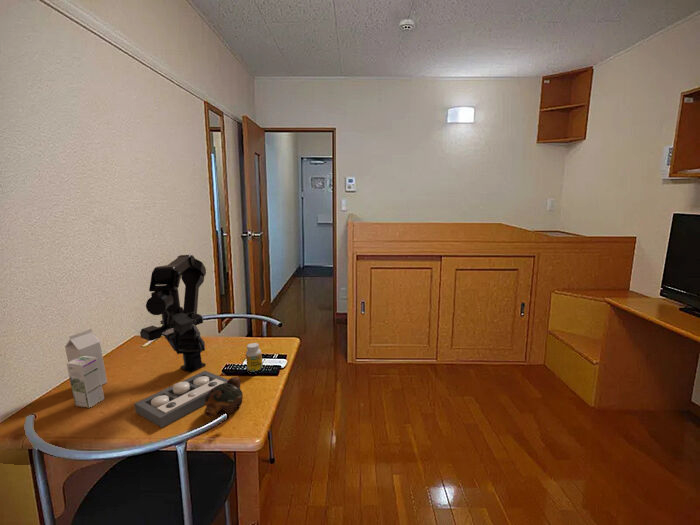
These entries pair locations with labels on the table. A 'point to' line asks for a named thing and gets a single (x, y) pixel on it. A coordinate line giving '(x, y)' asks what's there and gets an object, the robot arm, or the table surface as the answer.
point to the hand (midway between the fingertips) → (176, 350)
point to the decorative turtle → (224, 397)
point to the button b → (181, 388)
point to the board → (178, 401)
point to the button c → (201, 381)
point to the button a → (159, 401)
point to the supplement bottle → (253, 357)
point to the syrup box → (85, 381)
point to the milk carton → (86, 350)
